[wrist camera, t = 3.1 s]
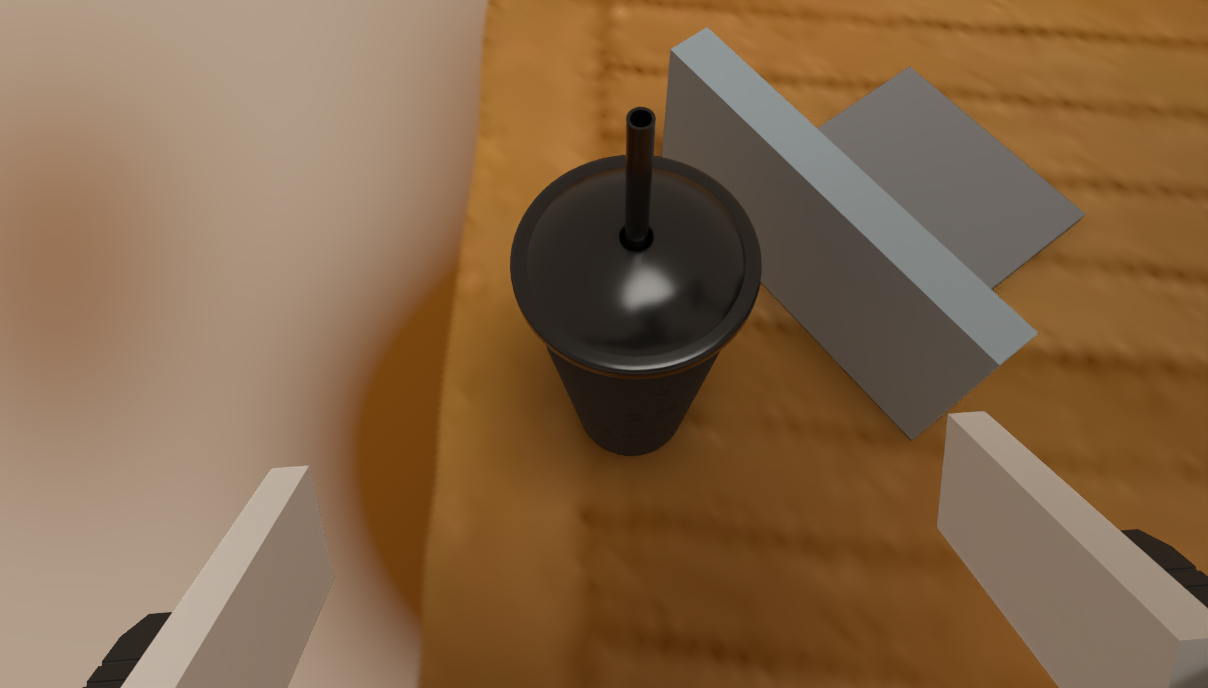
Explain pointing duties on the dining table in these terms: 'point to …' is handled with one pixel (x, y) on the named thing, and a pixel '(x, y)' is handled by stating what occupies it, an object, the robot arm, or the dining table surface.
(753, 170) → the low wall
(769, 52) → the dining table surface
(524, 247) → the drinking cup
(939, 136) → the rubber mat
